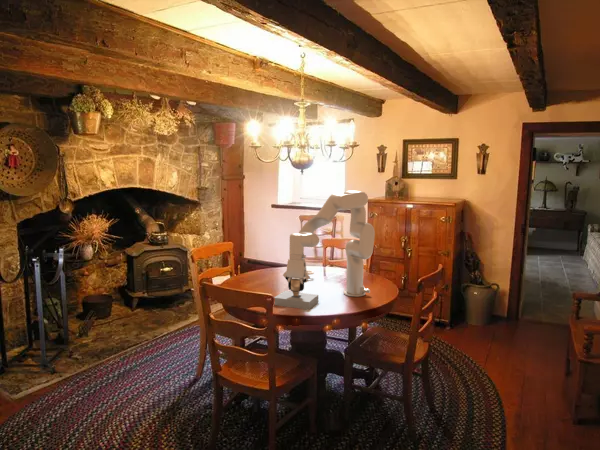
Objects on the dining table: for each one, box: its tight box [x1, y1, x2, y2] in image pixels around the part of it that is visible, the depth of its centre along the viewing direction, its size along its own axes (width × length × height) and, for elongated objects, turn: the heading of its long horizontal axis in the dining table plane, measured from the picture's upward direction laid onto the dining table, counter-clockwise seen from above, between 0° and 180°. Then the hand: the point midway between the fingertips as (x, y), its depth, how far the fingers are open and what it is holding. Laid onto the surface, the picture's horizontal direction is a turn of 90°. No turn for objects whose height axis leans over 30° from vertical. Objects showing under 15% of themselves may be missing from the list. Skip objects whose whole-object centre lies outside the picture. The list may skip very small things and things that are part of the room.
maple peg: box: [290, 278, 301, 297], centre depth 233 cm, size 6×6×9 cm
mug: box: [304, 268, 315, 279], centre depth 287 cm, size 12×10×8 cm
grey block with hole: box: [273, 290, 319, 311], centre depth 234 cm, size 20×14×4 cm
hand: (296, 289), depth 233 cm, fingers closed on maple peg, 5 cm apart
